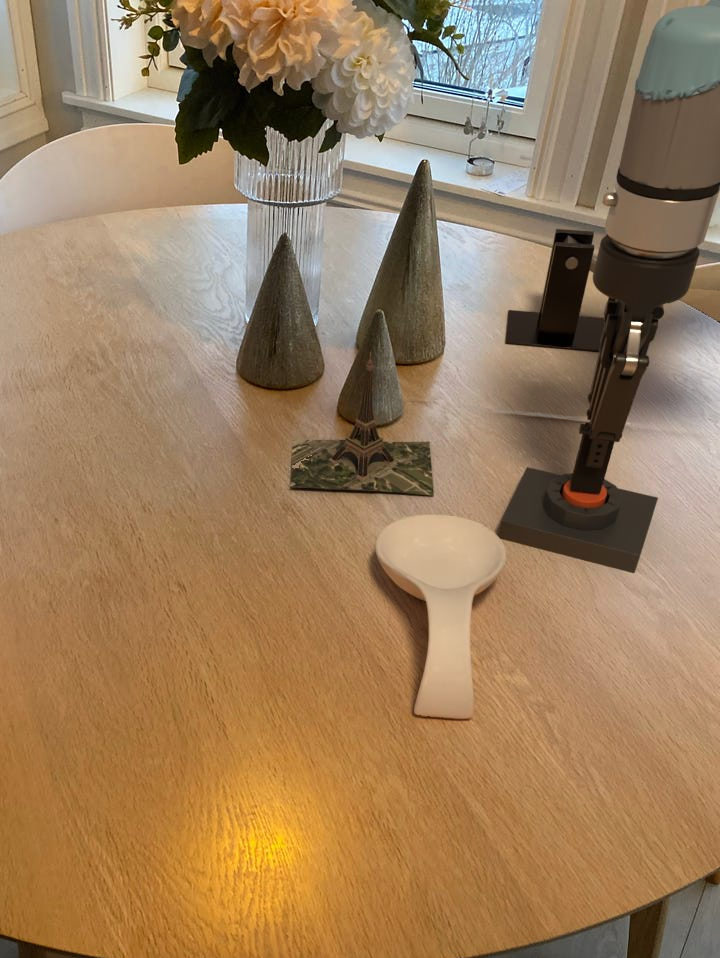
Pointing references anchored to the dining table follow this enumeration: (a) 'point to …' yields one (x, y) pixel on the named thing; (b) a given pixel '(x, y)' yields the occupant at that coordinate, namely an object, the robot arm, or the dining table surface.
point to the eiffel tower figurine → (363, 458)
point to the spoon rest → (443, 597)
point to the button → (583, 497)
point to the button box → (578, 521)
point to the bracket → (561, 301)
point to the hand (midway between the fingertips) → (585, 487)
